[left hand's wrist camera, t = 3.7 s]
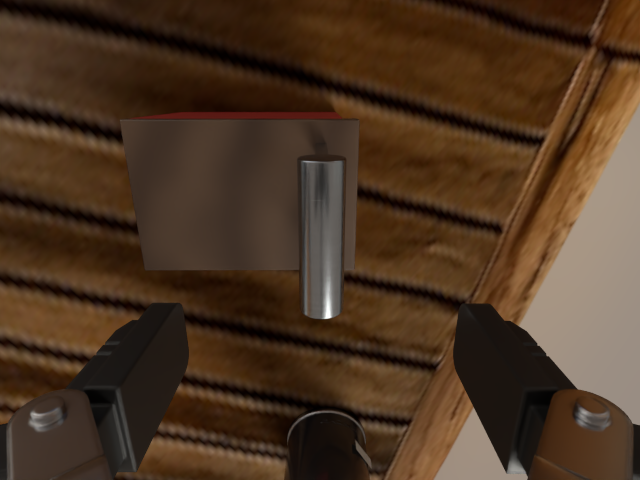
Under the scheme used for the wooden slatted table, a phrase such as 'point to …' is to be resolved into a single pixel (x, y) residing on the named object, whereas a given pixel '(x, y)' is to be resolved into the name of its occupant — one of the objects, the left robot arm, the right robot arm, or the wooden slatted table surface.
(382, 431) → the wooden slatted table surface
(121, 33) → the wooden slatted table surface
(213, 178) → the lid
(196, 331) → the wooden slatted table surface
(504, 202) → the wooden slatted table surface
